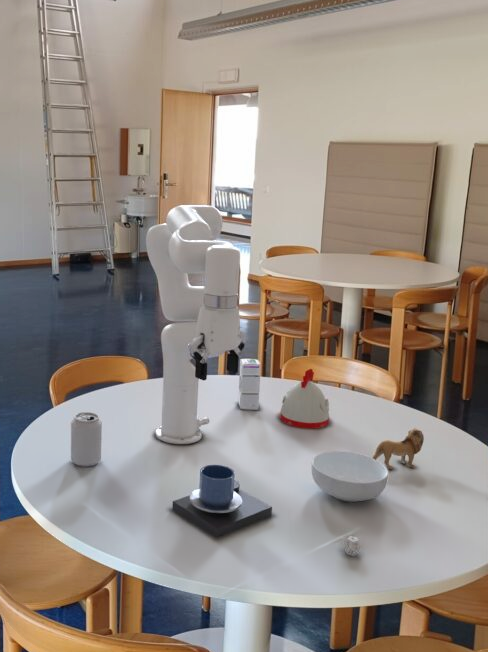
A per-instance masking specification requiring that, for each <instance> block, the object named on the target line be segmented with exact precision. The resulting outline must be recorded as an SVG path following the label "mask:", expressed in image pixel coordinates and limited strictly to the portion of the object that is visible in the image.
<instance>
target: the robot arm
mask: <svg viewBox="0 0 488 652" xmlns="http://www.w3.org/2000/svg"><path fill="white" fill-rule="evenodd" d="M165 219H166V221H165V222H166V223H160V224H159V223H158V224H155V225H153V226H151V227H150V228H149V229H148V231H147V233H146V237H145V246H146V247H145V248H146V253H147V257H148V259H149V263H150V265H151V267H152V269H153V271H154V273H155V276H156V279H157V285H158V292H159V299H160V300H159V301H160V307H161V311H162V314H163V316H164V318H165V319H166V320H167V321H170V322H173V323H169V324H168V325H165V327H163V329H162V331H161V333H160V343H161V352H162V363H163V364H162V367H163V368H162V370H163V371H162V373H163V374H162V397H161V398H162V400H161V425H160V426H158V427H157V428H156V429H155V437H156V438H157V439H158V440H160V441H162V442H165V443H167V444H173V445H189V444H194V443H196V442H198V441H201V439H202V438H203V437H202V436H203V433H202V432H203V431H202V430H201V429H200V428H201V427H202V426H206V425H209V424H210V418H209V417H208V416H205V417H204V416H203V417H201V418H200V417H199V416H198V401H199V380H201V381H207V379H208V362H206V361H207V360H208V358H218V357H221V356H223V355H224V354H225V353H226V352H228V353H227V355H226V371H227V372H230V373H233V374H238V373H239V364H240V361H239V360H240V357H241V356H242V351H243V350H244V348H245V345H246V341H247V340H248V337H249V336H248V335H247V334H246V333H244V332H242V331H241V317H240V316H241V315H240V309H239V306H238V301H239V300H240V294H239V284H240V283H239V281H240V267H241V265H240V264H241V251H240V249H239V248H238V247H236V246H234V245H233V244H232V243H231V242H230V241H226V240H217V239H218V238H219V237H220V235H221V232H222V230H223V216H222V213H221V212H220V210H219V208H217V207H216V206H213V205H203V204H201V205H195V204H194V205H192V204H185V205H178V206H175V207H173V208H171V209H170V210H169V211H168V213H167V216H166V218H165ZM192 274H193V275H194V274H204V284H203V285H202V286H200V285H198V286H195V285H191V284H190V282H189V280H190V279H189V275H192ZM191 360H193V361H195V365H194V364H193V363H192V362H191Z"/></svg>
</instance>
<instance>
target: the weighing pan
mask: <svg viewBox="0 0 488 652" xmlns="http://www.w3.org/2000/svg"><path fill="white" fill-rule="evenodd" d="M189 495H190V502H191V503H192V504H193V505H194V506H195V507H196V508H198V509H201V510H203V511H207V512H212V513H227V512H232V511H235V510H237V509H238V508H239V507H240V506H241V504H242V499H241V497H240V495H239V494H237V493H236V492H234V493H233V499H232V500H231V501H230V502H229V503H228V504H225V505H211V504H208V503H206V502H204V501H203V500H202V499H201V498H200V496H199V488H196V489H194V490H192V492H190V494H189Z"/></svg>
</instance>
